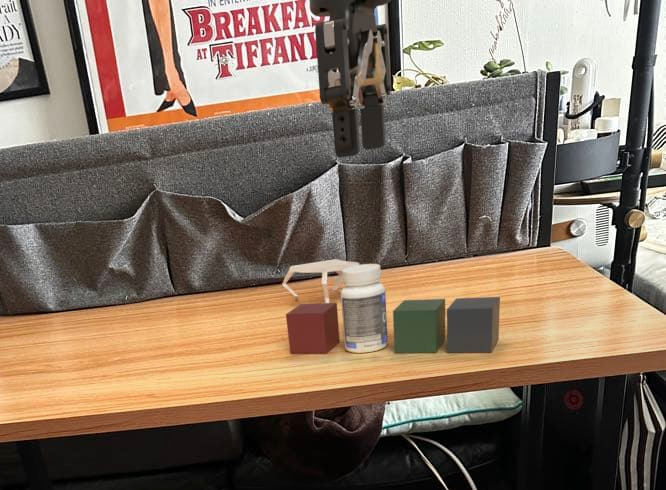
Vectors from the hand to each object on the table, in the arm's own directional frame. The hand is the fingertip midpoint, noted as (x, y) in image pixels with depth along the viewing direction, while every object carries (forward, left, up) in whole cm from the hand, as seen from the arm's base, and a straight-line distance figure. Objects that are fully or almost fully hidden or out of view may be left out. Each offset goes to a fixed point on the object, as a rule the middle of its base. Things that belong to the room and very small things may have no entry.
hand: (361, 152), depth 70 cm
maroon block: (+6, +1, -19) cm, 20 cm away
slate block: (-11, +1, -19) cm, 22 cm away
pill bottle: (0, +1, -19) cm, 19 cm away
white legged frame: (+14, -22, -19) cm, 32 cm away
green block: (-6, +1, -19) cm, 20 cm away
